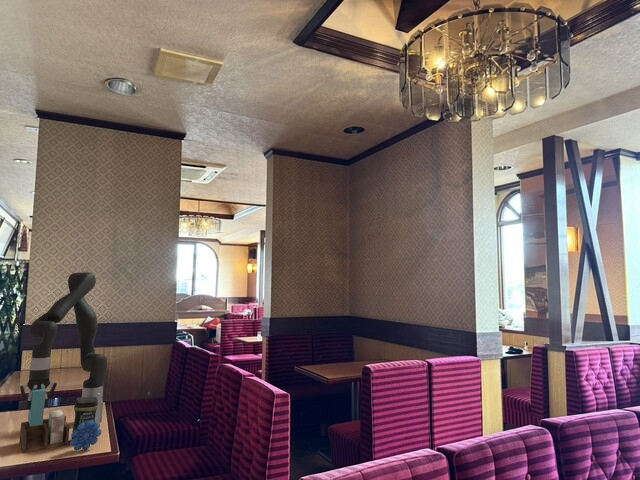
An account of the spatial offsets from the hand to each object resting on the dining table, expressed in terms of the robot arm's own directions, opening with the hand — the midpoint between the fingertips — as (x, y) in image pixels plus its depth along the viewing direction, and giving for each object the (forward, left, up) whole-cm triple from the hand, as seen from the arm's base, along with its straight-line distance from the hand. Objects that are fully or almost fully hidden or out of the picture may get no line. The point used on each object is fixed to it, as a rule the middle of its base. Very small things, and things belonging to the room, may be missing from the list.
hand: (36, 408), depth 191 cm
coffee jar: (-18, +4, -16) cm, 25 cm away
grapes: (-17, +16, -16) cm, 28 cm away
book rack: (-4, 0, -15) cm, 16 cm away
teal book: (0, 0, -6) cm, 6 cm away
